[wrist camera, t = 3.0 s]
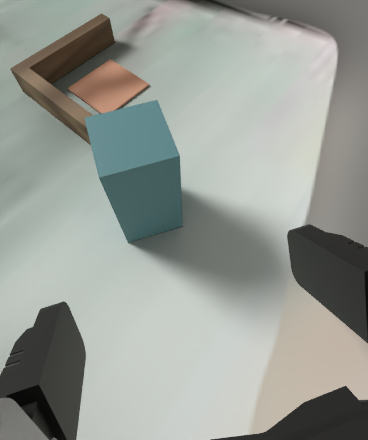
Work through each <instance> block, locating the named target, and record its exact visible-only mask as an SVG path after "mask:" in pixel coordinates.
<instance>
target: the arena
mask: <svg viewBox="0 0 368 440" xmlns="http://www.w3.org/2000/svg"><path fill="white" fill-rule="evenodd" d="M113 43H115V41H114V37H113V32H112V28H111V23H110V18H108V17H107V16H105V15H103V14H100V15H99V16H97V17H95V18H94V19H92V20H90V21H89V22H87V23H85V24H84V25H82V26H80V27H79V28H77V29H75V30H74V31H72V32H70V33H69V34H67V35H65V36H64V37H62V38H60V39H59V40H57V41H55V42H54V43H52V44H50V45H49V46H47V47H45V48H44V49H42V50H40V51H39V52H37V53H35V54H34V55H32V56H30V57H29V58H27V59H25V60H24V61H22V62H20V63H19V64H17V65H16V66H14V67H12V68H11V71H12V73H13V75H14V76H15V78H16V80H17V82H18V83H19V85H20V87H21V88H22V90H23V92H24V93H26V94H27V95H28V96H29V97H31V98H32V99H33V100H34V101H36V102H37V103H38V104H40V105H41V106H42V107H43V108H45V109H46V110H47V111H48V112H50V113H51V114H52V115H53V116H55V117H56V118H57V119H58V120H60V121H61V122H62V123H64V124H65V125H66V126H67V127H69V128H70V129H71V130H72V131H74V132H75V133H76V134H77V135H79V136H80V137H81V138H82V139H84V140H85V141H86V142H88V143H89V144H90V145H91V143H90V139H89V135H88V131H87V127H86V123H85V119H84V118H85V117H89V116H93V115H92V114H90V113H89V112H88V111H86V110H85V109H84V108H82V107H81V106H80V105H78V104H77V103H75V102H74V101H73V100H71V99H70V98H69V97H67V96H66V95H65V94H63V93H62V92H61V91H59V90H58V89H57V88H55V87H54V86H53V85H51V84H52V83H54V82H55V81H57V80H58V79H60V78H61V77H63V76H64V75H66V74H67V73H69V72H70V71H72V70H73V69H75V68H77V67H78V66H80V65H81V64H83V63H84V62H86V61H87V60H89V59H90V58H92V57H93V56H95V55H96V54H98V53H99V52H101V51H102V50H104V49H106V48H107V47H109V46H110V45H112V44H113ZM148 86H149V84H148V83H146V82H145V81H143V80H142V79H140V78H139V77H137V76H136V75H134V74H132V73H131V72H129V71H128V70H126V69H125V68H123V67H122V66H120V65H118V64H117V63H115V62H114V61H112V60H111V59H110V60H108V61H107V62H105V63H104V64H102V65H101V66H99V67H98V68H96V69H95V70H94V71H92V72H91V73H89V74H88V75H86V76H85V77H83V78H82V79H80V80H79V81H77V82H76V83H74V84H73V85H71V86H70V87H68V90H69V91H71V92H72V93H73V94H75V95H76V96H77V97H79V98H80V99H82V100H83V101H84V102H86V103H87V104H88V105H90V106H91V107H92V108H94V109H95V110H97V111H98V112H99V113H101V114H102V113H106V112H110V111H114V110H117V109H119V108H120V107H121V106H123V105H124V104H125V103H127V102H128V101H129V100H131V99H132V98H133V97H135V96H136V95H137V94H139V93H140V92H141V91H143V90H144V89H145V88H147V87H148Z"/></svg>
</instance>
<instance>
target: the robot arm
mask: <svg viewBox="0 0 368 440" xmlns="http://www.w3.org/2000/svg"><path fill="white" fill-rule="evenodd" d="M287 238H288V246H289V253H290V261H291V268H292V272H293V275H294V277H295V279H296V281H297V282H298V284H299V285H300V286H301V287H302V288H304V289H305V290H306V291H307V292H308V293H309V294H311V295H312V296H313V297H314V298H315V299H316V300H318V301H319V302H320V303H321V304H322V305H324V306H325V307H326V308H327V309H328V310H329V311H331V312H332V313H333V314H334V315H336V317H338V318H339V319H340V320H341V321H342V322H343V323H345V324H346V325H347V326H348V327H349V328H350V329H352V330H353V331H354V332H355V333H356V334H358V335H359V336H360V337H361V338H362V339H363V340H365V341H366V342H367V343H368V247H364V246H363V245H361V244H359V243H357V242H354V241H353V240H351V239H349V238H347V237H345V236H342V235H338V234H333V233H328V232H327V233H326V232H324V231H322V230H320V229H318V228H316V227H314V226H312V225H305V226H302V227H299V228H296V229H292V230H290V231H289V232H288V235H287ZM85 360H86V353H85V346H84V342H83V339H82V337H81V335H80V332H79V330H78V327H77V325H76V323H75V320H74V318H73V316H72V313H71V311H70V308H69V306H68V305H67V303H66V302H61V303H58V304H55V305H51V306H48V307H45V308H42V309H40V311H39V314H38V316H37V319H36V321H35V324H34V326H33V327H32V328H29V329H27V330H26V331H25V332H24V333H23V334H22V335H21V336H20V338H19V339H18V340H17V341H16V342H15V344H14V347H13V349H12V351H11V353H10V357H9V358H8V360H7V362H6V364H5V366H6V367H5V368H4V369H3V371H2V373H1V375H0V440H76V436H77V428H78V419H79V411H80V402H81V394H82V385H83V377H84V368H85ZM211 440H368V400H358V399H357V398H356V397H355V396H354V395H353V394H352V392H351V391H350V390H349V389H348V388H347V387H346V386H344V387H342V388H339V389H337V390H334V391H332V392H329V393H327V394H324V395H322V396H319V397H317V398H314V399H312V400H309V401H307V402H304V403H303V404H301V405H300V406H299V407H298V408H297V409H295V410H294V411H292V412H291V413H290V414H288V415H287V416H286V417H285V418H283V419H282V420H281V421H279V422H278V423H277V424H276V425H274V426H273V427H272V428H271V429H269V430H268V431H266V432H264V433H260V434H252V435H244V436H236V437H228V438H220V439H211Z"/></svg>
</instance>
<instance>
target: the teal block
mask: <svg viewBox="0 0 368 440" xmlns="http://www.w3.org/2000/svg"><path fill="white" fill-rule="evenodd" d="M84 119H85V123H86V127H87V131H88V135H89V139H90V143H91V147H92V151H93V155H94V159H95V163H96V167H97V171H98V175H99V178H100V181H101V183H102V185H103V187H104V190H105V192H106V194H107V196H108V199H109V201H110V203H111V205H112V208H113V210H114V212H115V214H116V217H117V219H118V221H119V223H120V226H121V228H122V230H123V232H124V235H125V237H126V239H127V241H128V243H129V242H132V241H136V240H139V239H142V238H146V237H149V236H152V235H156V234H159V233H162V232H166V231H169V230H172V229H176V228H179V227H182V201H181V176H180V155H179V153H178V150H177V148H176V145H175V143H174V140H173V138H172V135H171V133H170V130H169V128H168V125H167V123H166V121H165V118H164V116H163V113H162V111H161V108H160V106H159V103H158V101H157V100H155V101H151V102H147V103H142V104H138V105H134V106H130V107H126V108H122V109H118V110H114V111H110V112H106V113H102V114H97V115H93V116H89V117H85V118H84Z"/></svg>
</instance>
